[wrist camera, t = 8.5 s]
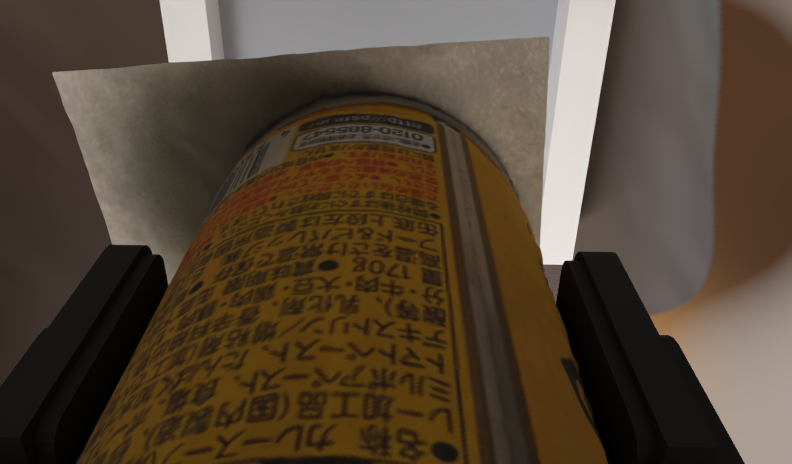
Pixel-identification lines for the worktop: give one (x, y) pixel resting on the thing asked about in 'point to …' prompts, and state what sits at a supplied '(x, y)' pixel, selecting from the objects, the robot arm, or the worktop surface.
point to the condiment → (336, 258)
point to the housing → (428, 24)
